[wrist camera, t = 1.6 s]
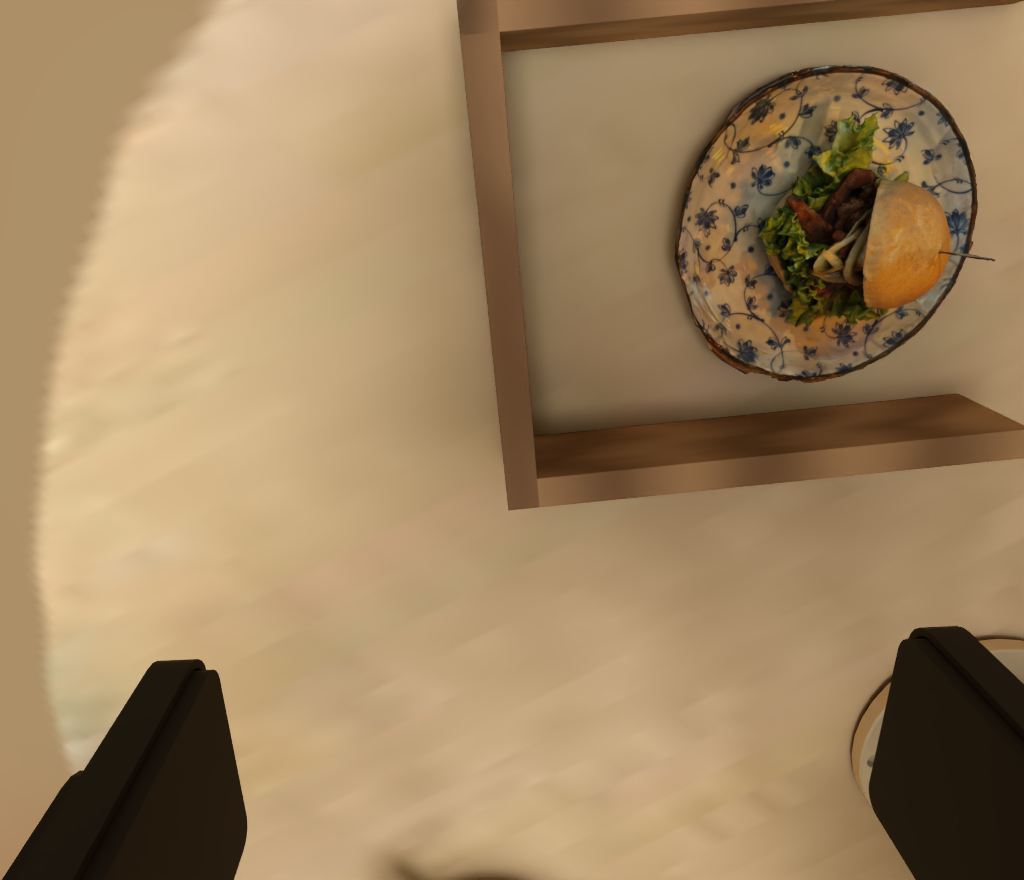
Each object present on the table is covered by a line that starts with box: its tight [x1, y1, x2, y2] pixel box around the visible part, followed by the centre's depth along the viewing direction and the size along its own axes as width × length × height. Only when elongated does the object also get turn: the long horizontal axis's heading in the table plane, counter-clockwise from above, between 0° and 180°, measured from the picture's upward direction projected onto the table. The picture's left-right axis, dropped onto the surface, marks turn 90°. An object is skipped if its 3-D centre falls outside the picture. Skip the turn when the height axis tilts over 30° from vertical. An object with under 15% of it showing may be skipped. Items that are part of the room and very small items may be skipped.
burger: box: [675, 66, 995, 383], centre depth 26 cm, size 12×12×8 cm
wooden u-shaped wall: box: [457, 0, 1024, 510], centre depth 27 cm, size 20×17×4 cm
